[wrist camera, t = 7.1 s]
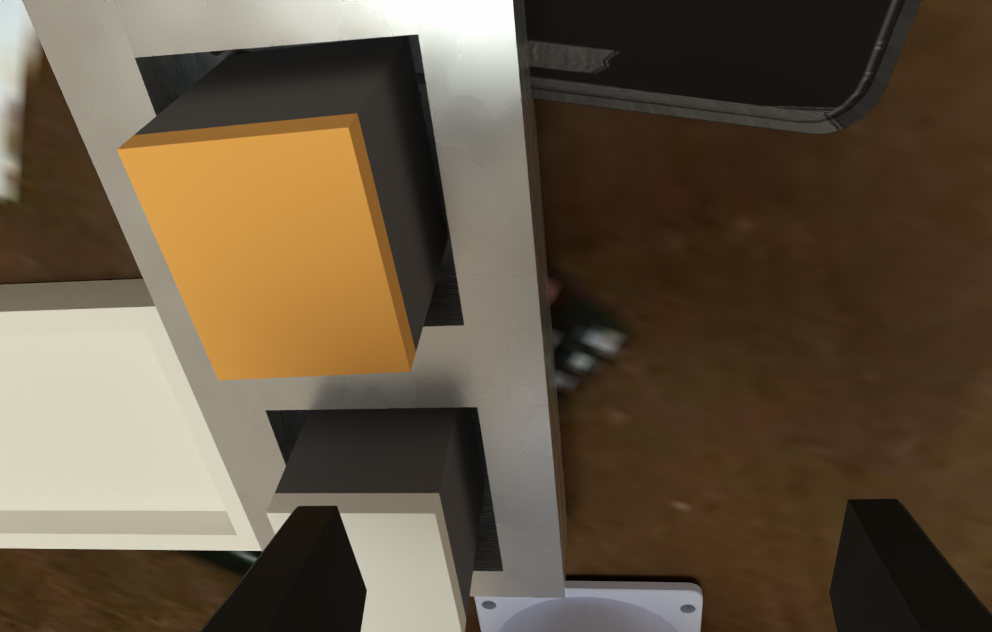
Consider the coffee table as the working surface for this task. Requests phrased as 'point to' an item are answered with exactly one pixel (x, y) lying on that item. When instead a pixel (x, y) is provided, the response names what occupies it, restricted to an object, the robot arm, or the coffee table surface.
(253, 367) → the plug
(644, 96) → the phone
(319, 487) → the twin plug
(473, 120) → the block
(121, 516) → the tray
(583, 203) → the coffee table surface
